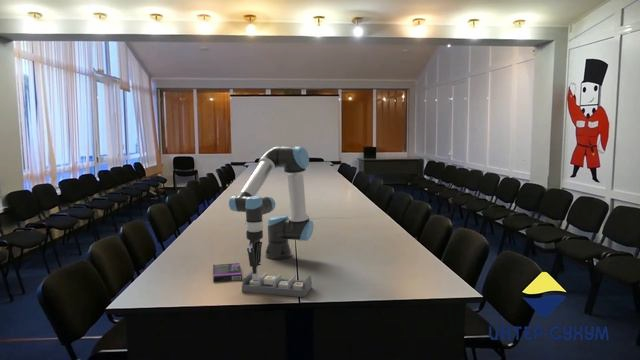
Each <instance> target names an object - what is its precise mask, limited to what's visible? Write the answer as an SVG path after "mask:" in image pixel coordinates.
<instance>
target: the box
mask: <svg viewBox="0 0 640 360" xmlns="http://www.w3.org/2000/svg"><path fill="white" fill-rule="evenodd" d="M212 268H213V269H212V273H213V274H212V276H213V277H212V281H213V283H216V282H217V283H218V282H228V281H230V282H231V281H243V275H242V274H243V273H242V269H241V264H240V262H237V263H221V264H220V263H219V264H212Z"/></svg>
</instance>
